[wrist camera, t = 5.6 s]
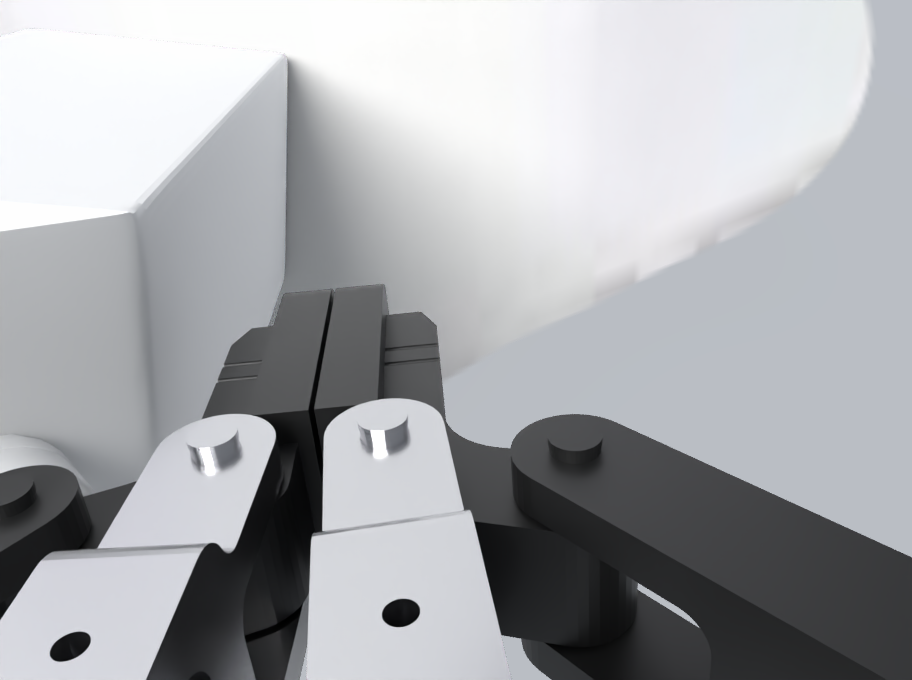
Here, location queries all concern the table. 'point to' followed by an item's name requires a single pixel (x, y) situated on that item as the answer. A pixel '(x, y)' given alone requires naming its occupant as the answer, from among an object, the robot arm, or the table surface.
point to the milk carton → (130, 239)
